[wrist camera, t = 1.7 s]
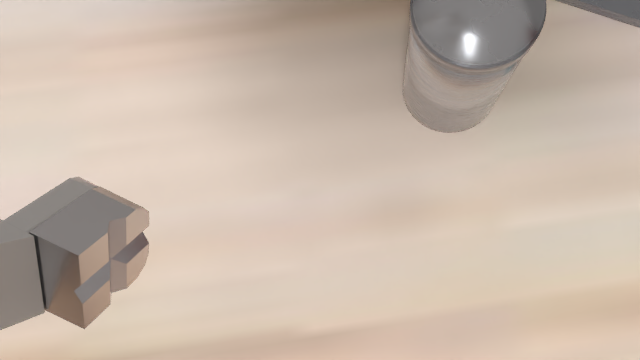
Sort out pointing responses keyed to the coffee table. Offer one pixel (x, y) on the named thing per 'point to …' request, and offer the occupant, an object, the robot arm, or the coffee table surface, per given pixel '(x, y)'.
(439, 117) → the metal cylinder
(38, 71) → the coffee table surface
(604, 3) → the flange
